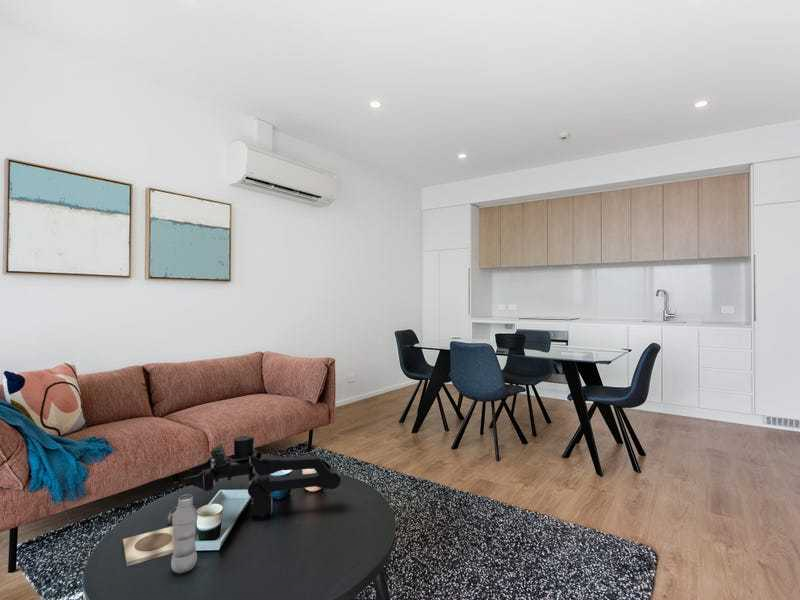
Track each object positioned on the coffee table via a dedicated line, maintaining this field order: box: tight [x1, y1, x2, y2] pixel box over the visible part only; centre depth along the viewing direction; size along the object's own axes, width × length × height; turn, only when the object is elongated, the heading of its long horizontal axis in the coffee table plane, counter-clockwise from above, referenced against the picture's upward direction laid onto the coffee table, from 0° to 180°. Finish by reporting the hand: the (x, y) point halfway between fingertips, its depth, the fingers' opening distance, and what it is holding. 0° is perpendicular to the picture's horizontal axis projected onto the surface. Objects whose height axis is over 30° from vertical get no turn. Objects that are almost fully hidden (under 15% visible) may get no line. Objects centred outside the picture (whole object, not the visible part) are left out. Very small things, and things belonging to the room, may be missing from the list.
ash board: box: [122, 525, 174, 567], centre depth 130 cm, size 15×15×1 cm
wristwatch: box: [167, 506, 179, 525], centre depth 145 cm, size 4×6×5 cm, turn 138°
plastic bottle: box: [170, 494, 198, 574], centre depth 119 cm, size 6×7×20 cm
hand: (186, 475), depth 144 cm, fingers open, 9 cm apart
